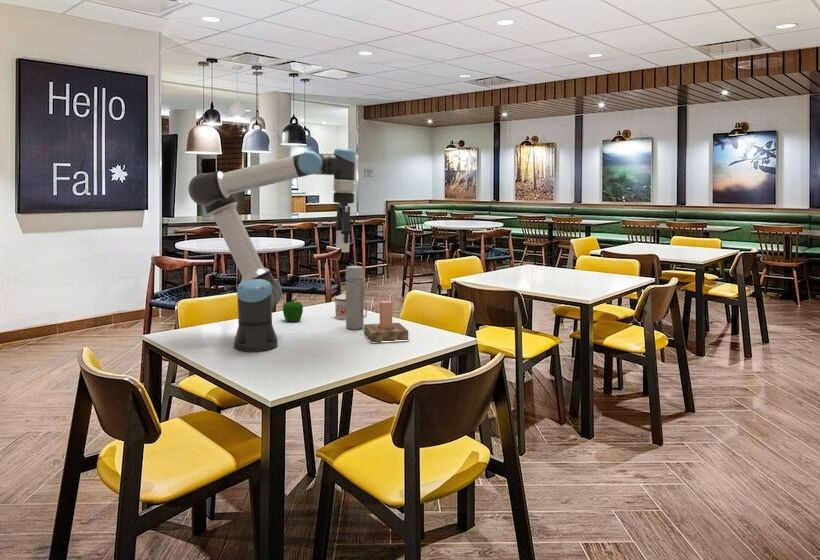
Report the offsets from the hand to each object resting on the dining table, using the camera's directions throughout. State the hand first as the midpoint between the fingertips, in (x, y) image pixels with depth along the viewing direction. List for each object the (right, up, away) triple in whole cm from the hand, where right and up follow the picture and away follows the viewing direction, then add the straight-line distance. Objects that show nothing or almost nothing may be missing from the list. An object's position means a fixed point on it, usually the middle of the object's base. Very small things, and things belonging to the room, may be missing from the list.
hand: (342, 250), depth 230 cm
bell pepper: (-25, -29, +33) cm, 50 cm away
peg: (+16, -33, +6) cm, 37 cm away
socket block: (+16, -33, +6) cm, 37 cm away
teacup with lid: (-2, -28, +40) cm, 49 cm away
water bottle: (+4, -31, +21) cm, 38 cm away
